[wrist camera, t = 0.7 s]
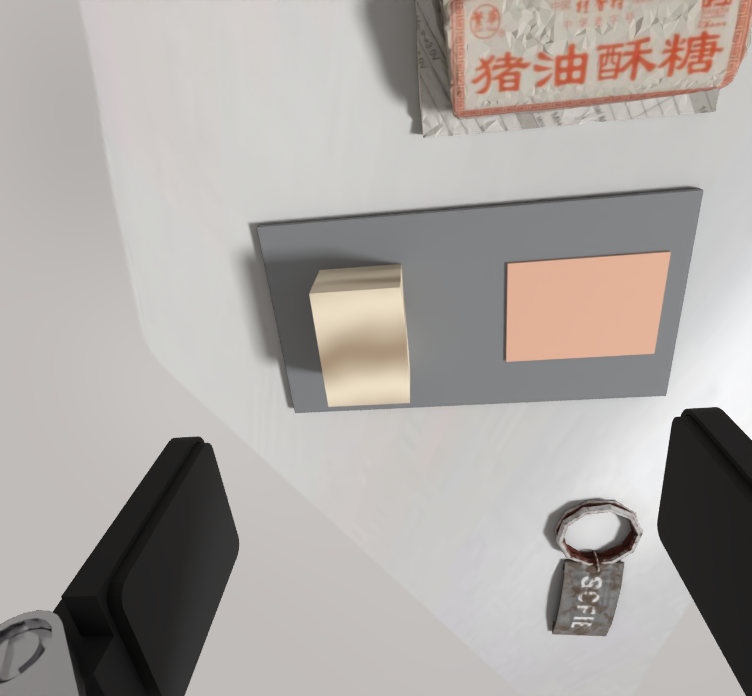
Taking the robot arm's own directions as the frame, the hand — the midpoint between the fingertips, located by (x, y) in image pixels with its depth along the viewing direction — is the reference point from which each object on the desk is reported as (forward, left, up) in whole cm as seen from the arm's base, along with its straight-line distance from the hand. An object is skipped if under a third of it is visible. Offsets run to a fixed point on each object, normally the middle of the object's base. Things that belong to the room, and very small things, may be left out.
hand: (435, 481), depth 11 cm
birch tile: (+10, -5, -29) cm, 31 cm away
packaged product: (-8, +9, -30) cm, 32 cm away
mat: (+10, +3, -29) cm, 31 cm away
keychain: (+39, +14, -30) cm, 51 cm away
